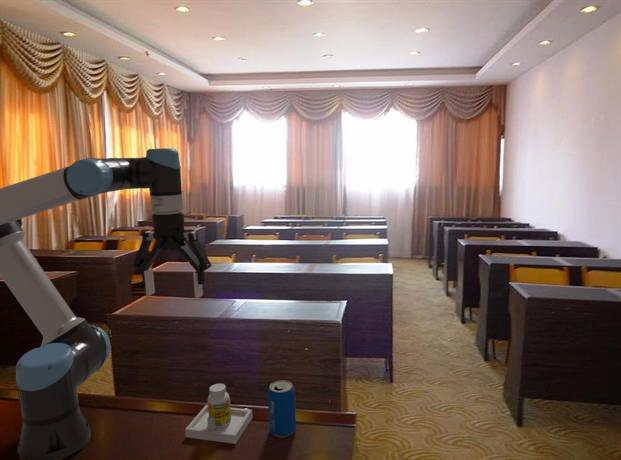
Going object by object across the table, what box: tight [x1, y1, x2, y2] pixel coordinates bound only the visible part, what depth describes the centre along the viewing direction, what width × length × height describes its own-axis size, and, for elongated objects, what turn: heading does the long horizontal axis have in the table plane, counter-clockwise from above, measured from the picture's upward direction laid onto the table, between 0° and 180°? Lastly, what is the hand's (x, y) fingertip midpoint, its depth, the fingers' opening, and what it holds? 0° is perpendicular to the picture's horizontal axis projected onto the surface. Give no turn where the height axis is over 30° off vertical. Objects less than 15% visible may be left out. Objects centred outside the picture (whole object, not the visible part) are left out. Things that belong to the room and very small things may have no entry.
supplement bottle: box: [207, 383, 231, 428], centre depth 113 cm, size 5×5×10 cm
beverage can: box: [267, 379, 297, 438], centre depth 110 cm, size 6×6×12 cm
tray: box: [185, 397, 253, 445], centre depth 113 cm, size 13×11×5 cm
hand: (174, 295), depth 115 cm, fingers open, 13 cm apart
